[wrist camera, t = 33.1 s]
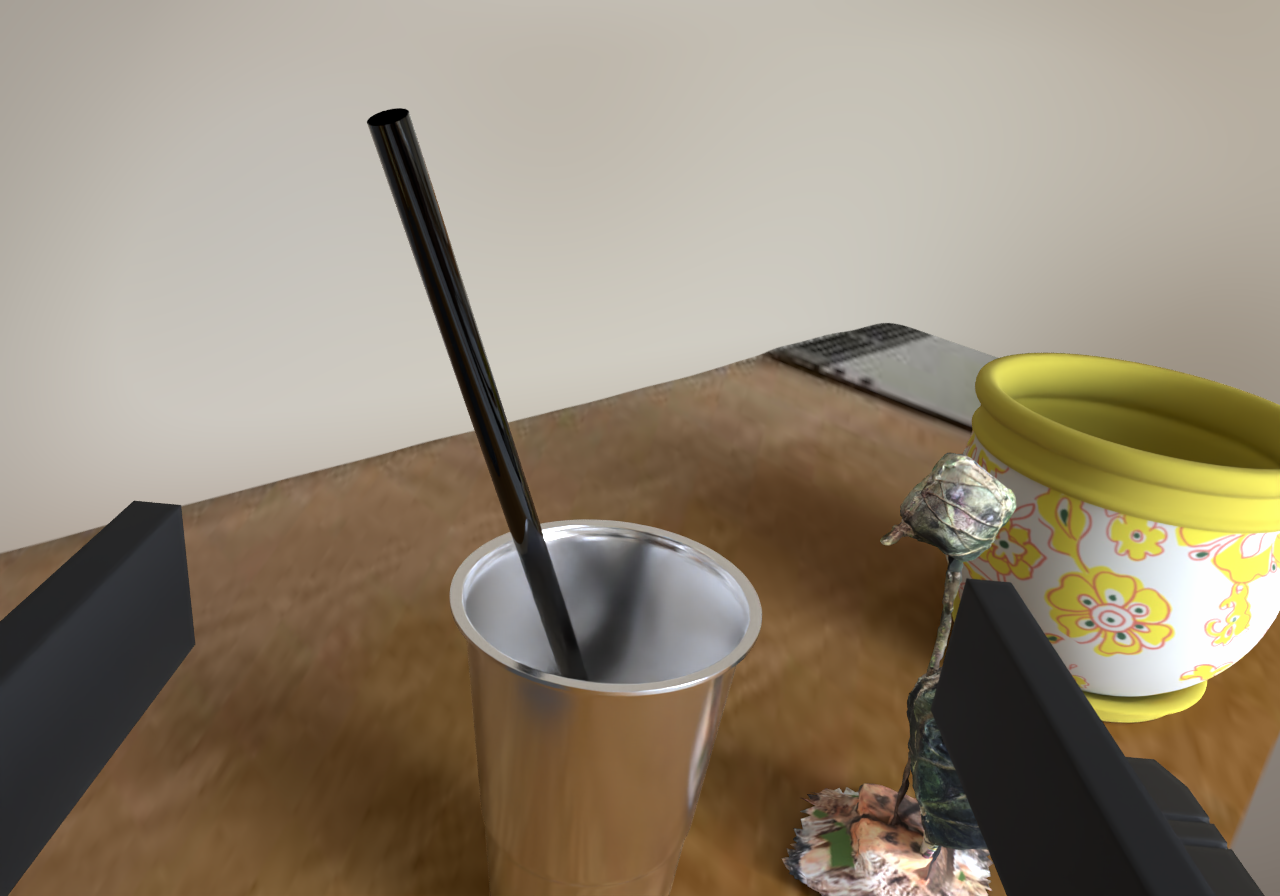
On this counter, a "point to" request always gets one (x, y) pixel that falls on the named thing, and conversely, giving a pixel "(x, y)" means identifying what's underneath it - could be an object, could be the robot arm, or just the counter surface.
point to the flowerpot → (1132, 521)
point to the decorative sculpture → (914, 736)
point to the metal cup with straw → (574, 639)
